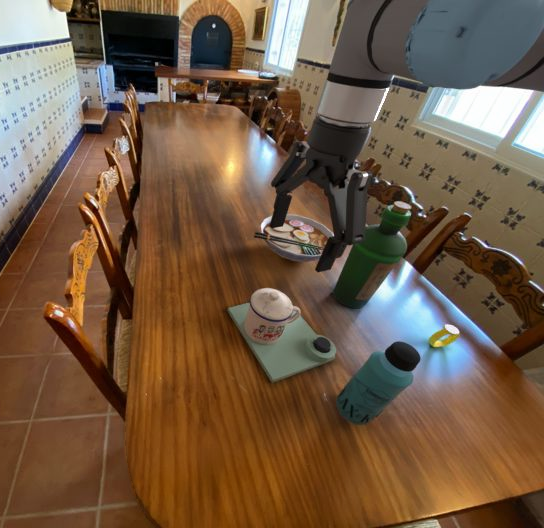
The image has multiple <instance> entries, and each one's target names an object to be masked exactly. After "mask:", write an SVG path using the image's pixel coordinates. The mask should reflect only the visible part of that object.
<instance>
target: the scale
mask: <svg viewBox="0 0 544 528" xmlns="http://www.w3.org/2000/svg"><path fill="white" fill-rule="evenodd" d="M249 305H250V301H249V302H246V303H242V304H238V305H233V306H230V307H227V312H228V315H229V316H230V317H231V319H232V321H233V323H234V324H235V326H236V328H237V329H238V330H239V332H240V334H241V335H242V337H243V338H244V339H243V340H245V342H246V344H247V345H248V347H249V348H250V350H251V352H252V353H253V355H254V356H255V358H256V359H257V361H258V363H259V365H260V366H261V368H262V369H263V371H264V372H265V374H266V376H267V377H268V379H269V381H270V382H271V384H274V383H276V382H278V381H281V380H284V379H287V378H290V377H292V376H294V375H297V374H300V373H303V372H306V371H308V370H310V369H313V368H316V367H319V366H321V365H324V364H327V363H330V362H332V361H334V360H335V358H336V356H335V355H336V354H337V349H336V345H335V344H334V342H332V340H331V339H330V338H328V337H327V336H324V335H322V334H317V333H316V332H315V331H314V330H313V329H312V328H311V326H310V325H309V324H308V323H307V321H306V320H305V319H304V318H303V317H302V316H301V315H300V316H299V318H298V319H297V320H295V321H294V322H291V323H287V324H286V326H285V329H284V331H283V333H282V336H281V338H280V339H279V340H278V341H277V342H276V343H274V344H269V345H265V344H260V343H257V342H255V341H254V340H252V339H251V338H250V337H249V336H248V335H247V334H246V332H245V329H244V323H245V319H246V315H247V312H248V308H249ZM295 313H296V311H293V313H292V315H291V316H293V315H294V314H295ZM318 337H324V338H326V339H328V340H329V342H330V343H331V347H330V348H329V350H328V351H327V352H326V353H321V352H319V351H317V350H316V349H315V347H314V343H315V341H316V339H317V338H318Z"/></svg>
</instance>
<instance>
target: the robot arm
mask: <svg viewBox="0 0 544 528" xmlns="http://www.w3.org/2000/svg"><path fill="white" fill-rule="evenodd" d="M345 11H346V12H345V15H344V19H343V22H342V25H341V29H340V32H339V35H338V39H337V42H336V46H335V49H334V53H333V56H332V59H331V62H330V65H329V70H328V73H327V77H326V79H325V82H324V85H323V89H322V91H321V95H320V98H319V101H318V104H317V108H316V110H315V112H316V114H318V116H316V117H315V118H314V119H313V121H312V124H311V128H310V131H309V134H308V137H307V140H305V141H296V142H294V144H293V147H292V150H291V152H290V155H288V157H287V159H286V160H285V162H284V163H283V164H282V166H281V167H280V169H279V170H278V172H277V173H276V175H275V176H274V177H273V178H272V180H271V182H270V185H271V187H272V188H274V189H275V194H276V196H275V199H274V203H273V212H272V215H271V216H272V219H271V223H270V227H271V228H277V227H283V225H284V222H285V219H286V215H287V214H288V213H289V208H290V205H291V202H292V199H293V196H292V194H293V191H294V190H296V189H298V188H299V187H300V186H302V185H303V184H305V183H306V182H310V183H312V184H315V185H316V186H317V187H318V188H319V189H320V190H323V194H324V197H326V198H327V202H328V206H329V213H330V214H329V215H330V219H331V220H330V221H331V225H332V233H333V234H334V236H332V237H329V238H328V241H327V243H326V245H325V248H324V250H323V252H322V254H321V257H320V259H318V260H317V264H316V266H315V268H314V271H315V272H317V273H322V272H326V271H330V270H332V268H333V266H334V263H335V261H336V259H340V258H342V257H343V255H344V253H345V250H346V249H347V247H348V246H353V244H358V243H363V242H364V241H365V231H366V226H367V210H368V209H367V207H368V190H369V187H370V183H371V181H372V179H373V173H372V171H371V170H366V171H362V170H359V169H356V168H355V162H356V160H357V159H358V157H359V156H360V155H361V154H362V152H363V150H364V149H365V145H366V144H367V142H368V139H369V137H370V135H371V132H372V128H371V125H370V124H372V123H374V122H375V121H376V120H377V117H378V115H379V113H380V110H381V108H382V105H383V103H384V101H385V99H386V96H387V95H388V94H387V93H388V91H389V89H390V87H391V86H392V83H393V81H394V78H395V76H398V77H401V78H405V79H408V80H412V81H415V82H419V83H422V84H423V86H426V87H430V88H433V89H434V88H443V89H448V90H450V89H452V90H457V91H458V90H459V91H461V90H462V91H463V90H464V91H466V90H472V89H477V88H478V87H492V88H509V89H510V88H511V89H519V90H528V91H529V90H530V91H536V92H542V93H544V0H349V1H348V2H347V5H346V9H345ZM304 161H305V164H304V165H303V166H301V165H302V164H303V163H304ZM300 166H301V167H300ZM336 187H338V188H336Z"/></svg>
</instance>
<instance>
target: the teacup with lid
mask: <svg viewBox="0 0 544 528" xmlns="http://www.w3.org/2000/svg"><path fill="white" fill-rule="evenodd" d="M249 302H250V305H249V308H248V312H247V315H246V319H245V323H244V329H245V332H246V334H247V335H248V336H249V337H250V338H251V339H252V340H254V341H255V342H257V343H260V344H265V345H269V344H274V343H276V342H277V341H278V340H279V339H280V338H281V336H282V333H283V331H284V329H285V326H286V324H287V323H291V322H294V321H295V320H297V319H298V318H299V316H301V313H302V312H301V309H300V308H299V306H297V305H293V302H292V301H291V299H290V298H289V296H287V295H286V294H285V293H283V292H282V291H280V290H279V289H274V288H270V287H265V288H259V289H257V290H255V291H254V292H253V293H252V294H251V295H250V297H249ZM293 311H296V313H295V314H294V315H293V316H291V315H292V313H293Z"/></svg>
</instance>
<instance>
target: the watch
mask: <svg viewBox="0 0 544 528" xmlns="http://www.w3.org/2000/svg"><path fill="white" fill-rule="evenodd" d="M460 333H461V332H460V330H459V328H458V327H456V326H455V325H452V324H447V323H446V324H444V325H443V327H442V329H439V330H438V331H436V332H434V333H433V334H432V335H431V336H429V338H428V343H429V344H430V345H431V346H432V347H433V348H434V349H435V348H440V347H446V346H448V345H451V344H453V343H454V342H455V341H457V340H458V339H459V337H460V335H461V334H460ZM447 335H448V336H447ZM445 336H447V337H446V338H443V337H445ZM442 338H443V339H442ZM440 339H441V340H440Z"/></svg>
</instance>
